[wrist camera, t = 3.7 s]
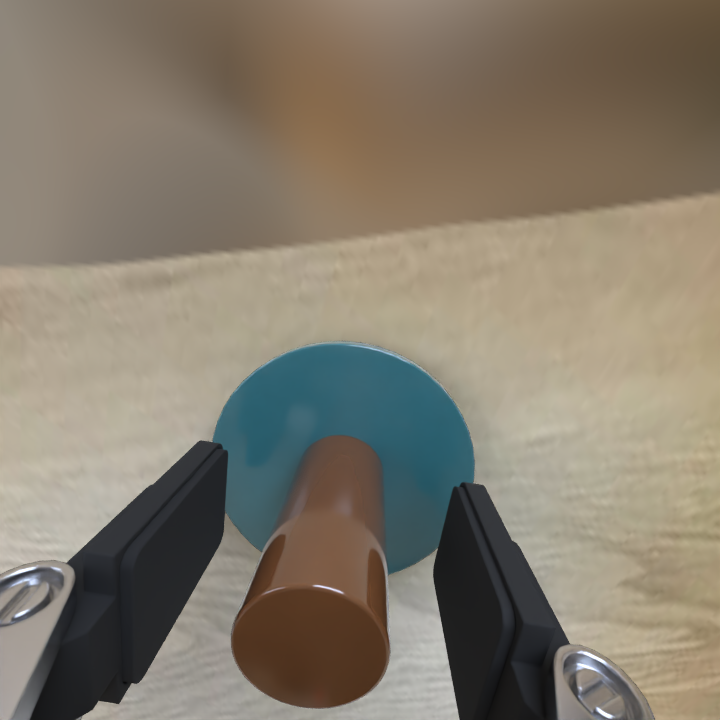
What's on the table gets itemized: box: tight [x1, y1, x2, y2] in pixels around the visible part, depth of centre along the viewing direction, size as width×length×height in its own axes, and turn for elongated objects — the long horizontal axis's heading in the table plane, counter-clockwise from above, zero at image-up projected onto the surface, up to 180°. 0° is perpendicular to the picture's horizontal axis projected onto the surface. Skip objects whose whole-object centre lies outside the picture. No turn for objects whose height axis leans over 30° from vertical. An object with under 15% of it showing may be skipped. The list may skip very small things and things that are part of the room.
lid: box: [213, 341, 475, 709], centre depth 9 cm, size 9×9×7 cm
